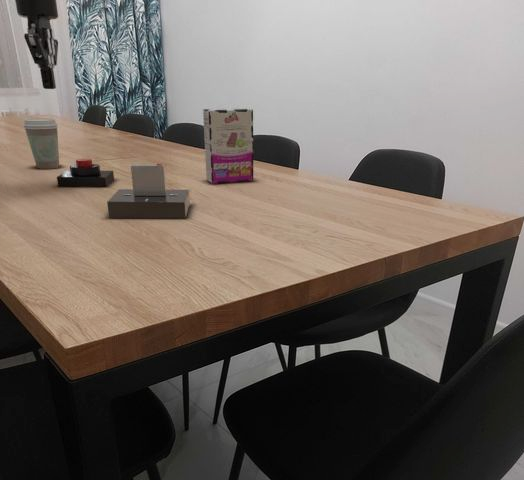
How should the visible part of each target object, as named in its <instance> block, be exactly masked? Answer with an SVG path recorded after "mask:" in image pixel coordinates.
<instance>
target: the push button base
mask: <svg viewBox="0 0 524 480" xmlns="http://www.w3.org/2000/svg"><path fill="white" fill-rule="evenodd" d="M92 164H93V166H91V167H77V165H76V163H75V164H71V165H69V169H68V170H66V171H64V172H62V173H61V174H59V175H58V176H56V182H57V187H58V188H107V187H109V185H111V184H112V183H113V182H114V181H115V175H114V173H115V172H114V170H101V167H100V166H101V165H100V164H98V163H92Z"/></svg>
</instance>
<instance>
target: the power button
mask: <svg viewBox="0 0 524 480" xmlns="http://www.w3.org/2000/svg"><path fill="white" fill-rule="evenodd" d="M75 164H76V165H77V167H91V166H93V164H94V163H93V159H92V158H85V157H84V158H77V159H75Z"/></svg>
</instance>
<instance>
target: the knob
mask: <svg viewBox="0 0 524 480" xmlns="http://www.w3.org/2000/svg"><path fill="white" fill-rule="evenodd" d="M130 175H131V182H132V189H133V193H134V196H166V190H167V181H166V170H165V164H164V163H163V162H157V163H132V164H130Z"/></svg>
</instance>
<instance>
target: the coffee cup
mask: <svg viewBox="0 0 524 480" xmlns="http://www.w3.org/2000/svg"><path fill="white" fill-rule="evenodd" d="M58 128H59V126H58V123H57V121H56V120H55V119H54V118H46V117H45V118H43V117H41V118H26V119H24V121H23V129H24V130H25V133H26V137H27V140H28V143H29V146H30V149H31V150H30V151H31V153H32V156H33V159H34V162H35V166H36V168H37V169H39V170H53V169H59V168H60V153H59V137H58Z"/></svg>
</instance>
